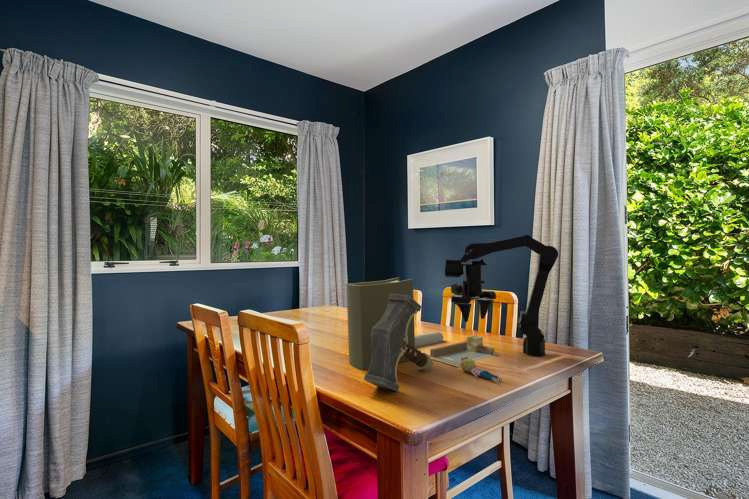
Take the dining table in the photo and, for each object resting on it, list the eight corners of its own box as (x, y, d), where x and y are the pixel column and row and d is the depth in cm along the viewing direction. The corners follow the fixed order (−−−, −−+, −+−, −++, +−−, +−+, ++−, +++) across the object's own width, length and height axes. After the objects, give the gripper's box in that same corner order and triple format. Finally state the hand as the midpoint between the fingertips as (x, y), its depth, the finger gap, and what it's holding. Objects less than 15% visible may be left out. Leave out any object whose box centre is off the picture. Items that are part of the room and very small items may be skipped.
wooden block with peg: (496, 353, 147) (496, 339, 147) (489, 355, 144) (489, 341, 144) (474, 348, 155) (473, 335, 155) (467, 350, 152) (466, 336, 152)
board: (499, 356, 147) (499, 346, 147) (457, 367, 134) (457, 357, 134) (468, 348, 158) (468, 339, 158) (426, 358, 145) (426, 349, 145)
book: (360, 372, 132) (357, 284, 131) (347, 365, 140) (344, 282, 139) (415, 360, 143) (412, 279, 142) (400, 354, 151) (397, 277, 150)
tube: (435, 331, 171) (388, 339, 156) (444, 329, 167) (396, 337, 152) (438, 344, 170) (390, 354, 155) (447, 342, 166) (399, 352, 151)
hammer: (428, 339, 140) (389, 285, 122) (451, 344, 134) (414, 289, 116) (394, 413, 127) (346, 366, 109) (419, 423, 122) (372, 374, 103)
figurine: (506, 384, 121) (469, 368, 133) (506, 370, 120) (469, 355, 133) (491, 388, 118) (455, 371, 130) (492, 373, 117) (455, 358, 130)
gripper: (472, 275, 164) (473, 314, 164) (439, 278, 152) (440, 320, 153) (496, 276, 155) (497, 318, 155) (463, 279, 144) (464, 325, 144)
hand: (474, 320), depth 152 cm, fingers open, 9 cm apart
